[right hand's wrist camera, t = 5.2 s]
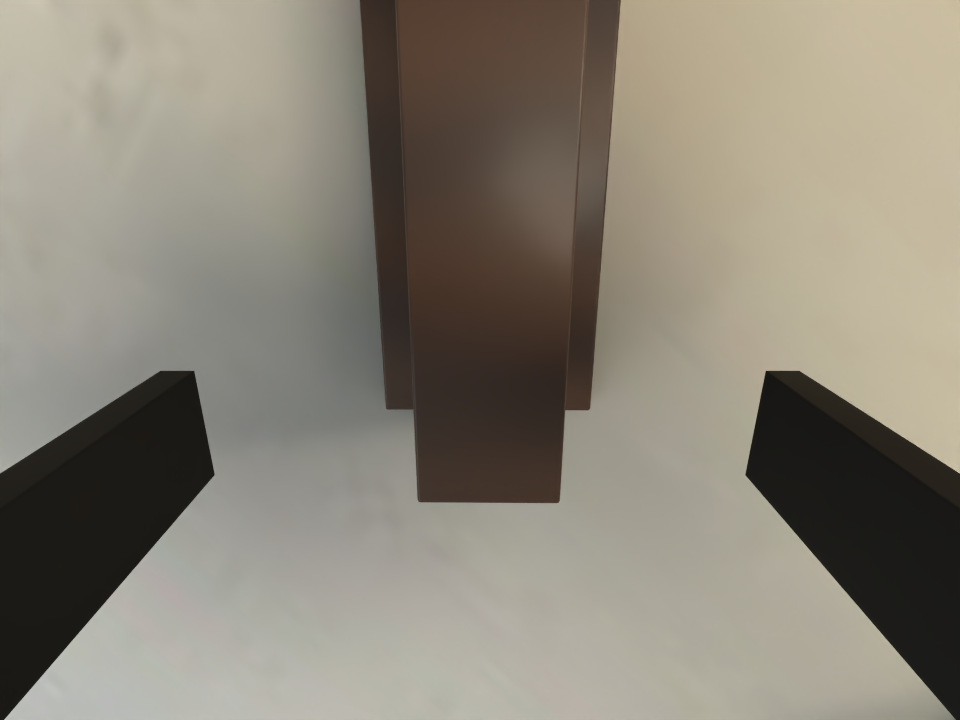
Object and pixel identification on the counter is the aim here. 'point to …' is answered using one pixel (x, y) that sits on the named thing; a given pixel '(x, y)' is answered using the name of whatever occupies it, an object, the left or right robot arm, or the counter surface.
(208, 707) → the counter surface
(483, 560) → the counter surface
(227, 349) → the counter surface
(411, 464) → the counter surface
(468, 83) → the rail
